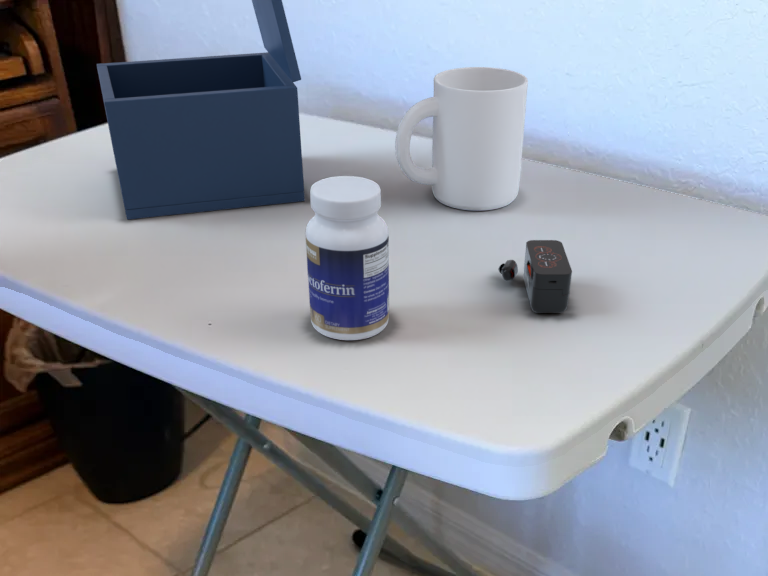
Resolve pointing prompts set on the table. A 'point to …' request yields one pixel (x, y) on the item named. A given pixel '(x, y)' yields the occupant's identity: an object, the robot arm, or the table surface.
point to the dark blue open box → (203, 133)
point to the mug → (470, 137)
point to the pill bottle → (347, 259)
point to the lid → (277, 35)
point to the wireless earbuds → (543, 275)
